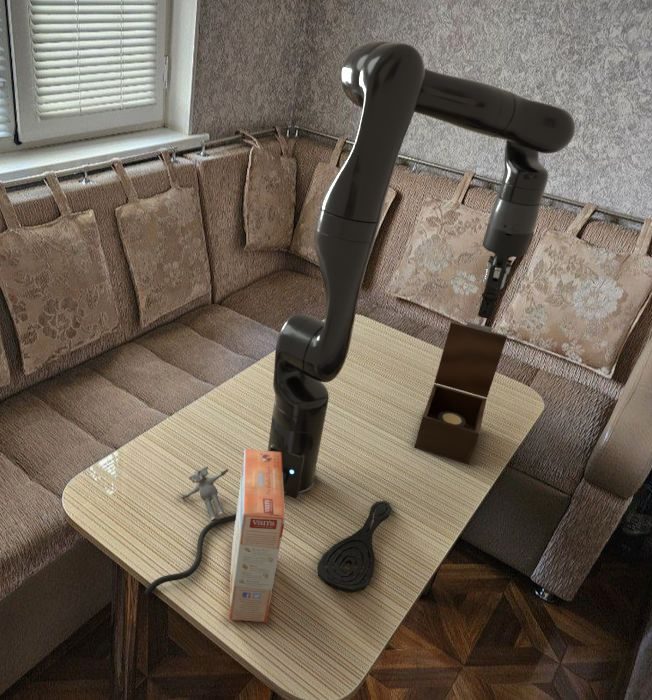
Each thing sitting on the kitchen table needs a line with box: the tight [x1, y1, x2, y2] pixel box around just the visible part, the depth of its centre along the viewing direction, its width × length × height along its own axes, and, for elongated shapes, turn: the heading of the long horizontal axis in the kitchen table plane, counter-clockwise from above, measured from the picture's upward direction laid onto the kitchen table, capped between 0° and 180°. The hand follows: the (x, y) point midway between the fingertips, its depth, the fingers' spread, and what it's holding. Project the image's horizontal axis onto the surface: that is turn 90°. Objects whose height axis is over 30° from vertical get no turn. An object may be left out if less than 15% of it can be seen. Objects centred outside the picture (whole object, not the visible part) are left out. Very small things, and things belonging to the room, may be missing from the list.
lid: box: [434, 321, 508, 399], centre depth 141 cm, size 15×11×5 cm
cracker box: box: [228, 448, 286, 623], centre depth 98 cm, size 14×6×21 cm, turn 179°
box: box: [413, 383, 487, 466], centre depth 139 cm, size 14×11×8 cm
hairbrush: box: [316, 500, 393, 594], centre depth 111 cm, size 8×4×25 cm
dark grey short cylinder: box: [437, 411, 466, 427], centre depth 138 cm, size 6×6×5 cm
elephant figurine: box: [180, 466, 229, 522], centre depth 116 cm, size 10×6×9 cm
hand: (486, 308), depth 124 cm, fingers open, 8 cm apart
